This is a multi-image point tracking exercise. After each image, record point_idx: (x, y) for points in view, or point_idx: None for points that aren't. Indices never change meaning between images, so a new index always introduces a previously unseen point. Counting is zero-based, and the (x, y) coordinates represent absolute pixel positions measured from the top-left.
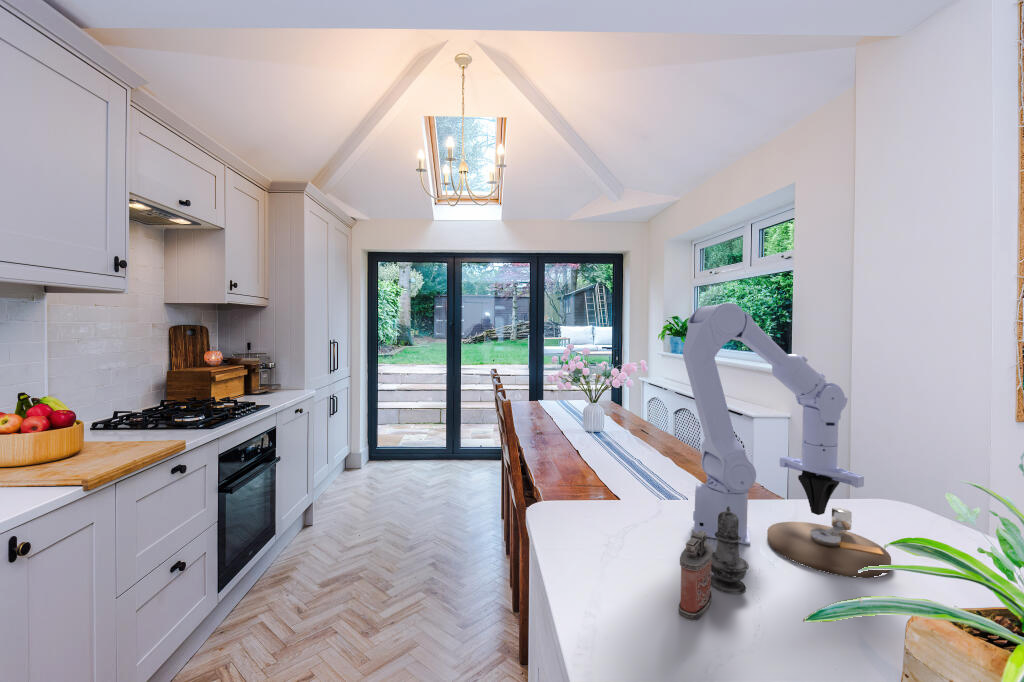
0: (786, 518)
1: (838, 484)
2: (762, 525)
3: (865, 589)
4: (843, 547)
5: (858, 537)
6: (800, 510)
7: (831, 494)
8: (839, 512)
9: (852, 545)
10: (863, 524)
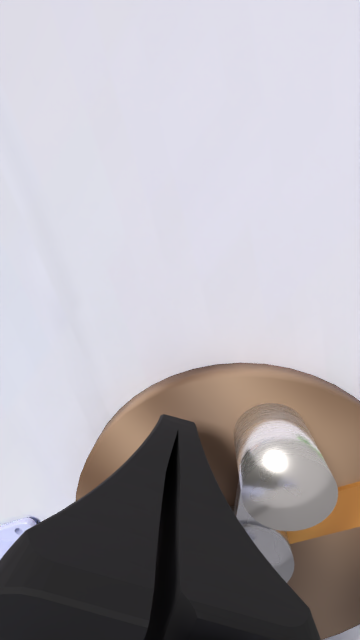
0: (50, 324)
1: (299, 601)
2: (39, 454)
3: (356, 634)
4: (296, 540)
5: (323, 413)
6: (35, 160)
7: (230, 507)
8: (284, 527)
9: None
10: (297, 99)
